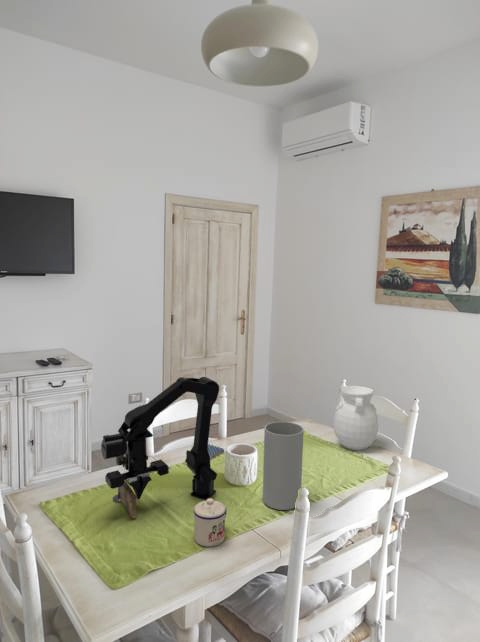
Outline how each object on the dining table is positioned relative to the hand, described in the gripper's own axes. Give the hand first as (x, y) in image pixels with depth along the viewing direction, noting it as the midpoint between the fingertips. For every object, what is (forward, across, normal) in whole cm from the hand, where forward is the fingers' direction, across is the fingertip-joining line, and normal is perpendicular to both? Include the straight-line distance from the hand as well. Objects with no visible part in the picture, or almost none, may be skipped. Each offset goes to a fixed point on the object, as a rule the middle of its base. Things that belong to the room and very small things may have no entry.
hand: (138, 498), depth 151 cm
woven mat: (+6, -40, -28) cm, 49 cm away
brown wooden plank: (+3, +3, -1) cm, 4 cm away
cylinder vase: (+5, -42, +19) cm, 46 cm away
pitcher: (+6, -98, -2) cm, 98 cm away
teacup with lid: (+4, -13, +24) cm, 28 cm away
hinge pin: (+4, +2, -9) cm, 10 cm away
